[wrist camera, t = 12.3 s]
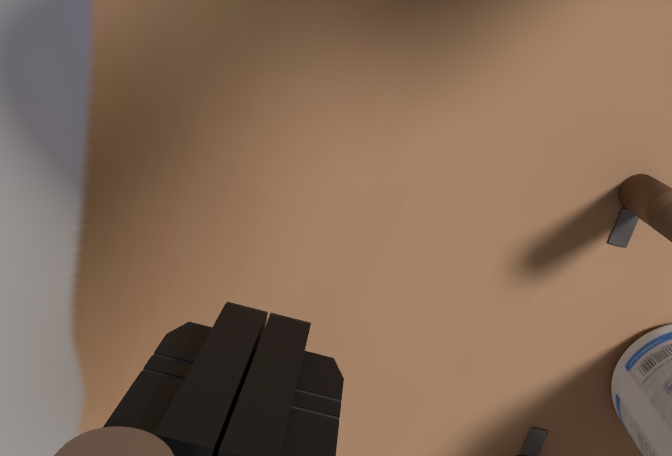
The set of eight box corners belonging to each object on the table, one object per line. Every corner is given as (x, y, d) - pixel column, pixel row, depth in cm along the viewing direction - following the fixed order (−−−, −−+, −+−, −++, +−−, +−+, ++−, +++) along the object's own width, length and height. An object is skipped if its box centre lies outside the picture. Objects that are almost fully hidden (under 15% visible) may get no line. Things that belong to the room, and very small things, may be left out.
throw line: (627, 170, 37) (690, 206, 30) (664, 179, 38) (737, 218, 30) (502, 476, 45) (527, 567, 38) (533, 484, 45) (564, 575, 38)
